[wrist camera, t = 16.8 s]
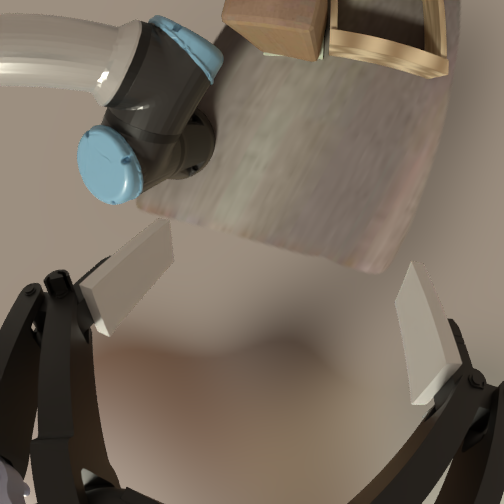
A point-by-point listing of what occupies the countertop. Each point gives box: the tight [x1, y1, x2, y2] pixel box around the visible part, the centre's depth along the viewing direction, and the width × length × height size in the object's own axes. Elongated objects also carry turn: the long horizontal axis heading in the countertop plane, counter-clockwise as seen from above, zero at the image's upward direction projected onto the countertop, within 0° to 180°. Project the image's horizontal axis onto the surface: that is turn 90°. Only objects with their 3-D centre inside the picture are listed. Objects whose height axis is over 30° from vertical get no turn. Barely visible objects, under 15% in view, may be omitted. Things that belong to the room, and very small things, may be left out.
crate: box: [329, 0, 449, 79], centre depth 25 cm, size 18×18×9 cm
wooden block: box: [222, 0, 328, 62], centre depth 26 cm, size 10×10×20 cm
